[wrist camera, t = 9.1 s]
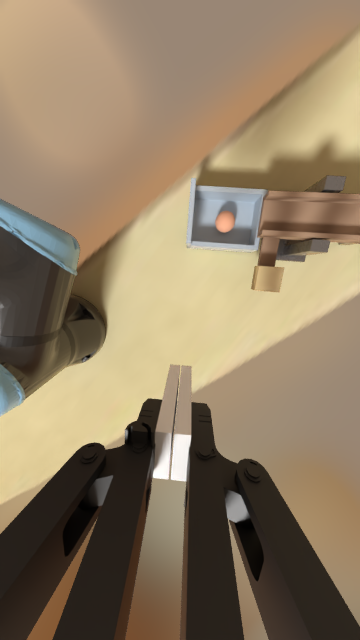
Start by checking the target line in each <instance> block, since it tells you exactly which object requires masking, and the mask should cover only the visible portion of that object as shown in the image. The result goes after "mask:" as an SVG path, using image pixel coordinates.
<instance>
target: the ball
mask: <svg viewBox="0 0 360 640" xmlns="http://www.w3.org/2000/svg"><path fill="white" fill-rule="evenodd" d="M215 225H216V228H217V229H218V230H219V231H220V232H224V233H225V232H228V231H230V230H231V229H232V228H233V227H234V225H235V217H234V215H233V213H232V212H230V211H222V212H221V213H219V214H218V216H217V217H216V220H215Z"/></svg>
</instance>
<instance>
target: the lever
mask: <svg viewBox="0 0 360 640" xmlns="http://www.w3.org/2000/svg"><path fill="white" fill-rule="evenodd" d="M257 238H262V242H261V248H260V254H259V260H258V266H255V269H254V275H253V281H252V287H251V289H253V290H258V291H270V292H280V287H281V282H282V277H283V272H284V268H282V267H275V261H276V256H277V251H278V245H279V240H280V239H290V240H307V241H308V240H312V239H317V240H330V242H341V243H358V244H360V194H345V193H318V192H291V191H268V193H267V194H266V195H265V196H264V198H263V202H262V208H261V214H260V221H259V227H258V233H257Z"/></svg>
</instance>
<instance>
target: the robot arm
mask: <svg viewBox="0 0 360 640" xmlns="http://www.w3.org/2000/svg"><path fill="white" fill-rule="evenodd" d="M79 254H80V247H79V244H78V242H77V240H76V239H75V238H74V237H73V236H72V235H71V234H69V233H67V232H65V231H63V230H61V229H59V228H57V227H56V226H54V225H51V224H49V223H48V222H46V221H44V220H42V219H39V218H38V217H36V216H33V215H32V214H30V213H28V212H26V211H24V210H22V209H20V208H18V207H16V206H14V205H12V204H10V203H8V202H6V201H4V200H2V199H0V416H2V415H3V414H5V413H6V412H8V411H10V410H11V409H13V408H14V407H16V406H18V405H20V404H21V403H22V402H23V401H24V400H25V399H26V398H27V397H28V396H30V395H31V394H32V393H33V392H35V391H36V390H37V389H39V388H40V387H41V386H42V385H44V384H45V383H46V382H47V381H49V380H50V379H51V378H53V377H54V376H55V375H56V374H58V373H59V372H60V371H62V370H63V369H64V368H65V367H69V366H72V365H76V364H80V363H83V362H85V361H87V360H89V359H90V358H92V357H93V356H94V355H95V354H96V353H97V352H98V351H99V350H100V349H101V347H102V345H103V343H104V340H105V325H104V322H103V319H102V317H101V315H100V313H99V312H98V310H97V309H96V308H95V307H94V306H93V305H92V304H91V303H89V302H88V301H86V300H85V299H83V298H81V297H78V296H74V295H70V294H71V290H72V287H73V283H74V279H75V275H76V276H77V271H76V270H77V264H78V259H79ZM179 373H180V365H171V364H170V368H169V373H168V377H167V382H166V386H165V391H164V395H163V399H162V400H159V399H149V398H148V399H147V400H146V401H145V402H144V403H143V406H142V408H141V411H140V414H139V417H138V419H137V421H135V422H132V423H131V424H129V425H128V426H127V428H126V429H125V444H124V445H122V446H120V447H117V448H113V449H108V450H105V448H104V446H103V445H101V444H100V443H89V444H86V445H84V446H82V447H81V448H80V449H79V450H77V451H76V452H75V454H74V455H73V456H72V457H71V458H70V459H69V460H68V461H67V462H66V463H65V464H64V465H63V467H62V468H61V469H60V470H59V471H58V472H57V473H56V474H55V475H54V476H53V477H52V479H51V480H50V481H49V482H48V483H47V484H46V485H45V486H44V487H43V488H42V489H41V491H40V492H39V493H38V494H37V495H36V496H35V497H34V498H33V499H32V500H31V501H30V503H29V504H28V505H27V506H26V507H25V508H24V509H23V510H22V511H21V512H20V513H19V515H18V516H17V517H16V518H15V519H14V520H13V521H12V522H11V523H10V524H9V525H8V527H7V528H6V529H5V530H4V531H3V532H2V533H1V534H0V640H26V639H27V638H28V636H29V634H30V633H31V631H32V629H33V627H34V626H35V624H36V622H37V621H38V619H39V617H40V615H41V614H42V612H43V610H44V608H45V607H46V605H47V603H48V602H49V600H50V598H51V597H52V595H53V593H54V591H55V590H56V588H57V586H58V585H59V583H60V581H61V579H62V577H63V576H64V574H65V573H66V571H67V569H68V567H69V566H70V564H71V562H72V561H73V559H74V557H75V555H76V554H77V552H78V550H79V549H80V547H81V545H82V543H83V542H84V540H85V538H86V536H87V535H88V533H89V531H90V530H91V528H92V526H93V524H94V522H95V521H96V519H97V521H96V524H95V527H94V529H93V532H92V535H91V537H90V540H89V543H88V546H87V548H86V551H85V554H84V556H83V559H82V562H81V564H80V567H79V570H78V572H77V575H76V578H75V581H74V583H73V586H72V589H71V591H70V594H69V597H68V600H67V602H66V605H65V607H64V610H63V613H62V616H61V619H60V621H59V624H58V626H57V629H56V632H55V634H54V637H53V640H125V636H126V632H127V626H128V620H129V614H130V609H131V603H132V597H133V591H134V586H135V580H136V574H137V568H138V563H139V557H140V551H141V546H142V540H143V534H144V529H145V523H146V517H147V511H148V505H149V500H150V494H151V482H152V477H153V478H161V479H168V478H169V477H168V476H169V469H170V459H171V450H172V441H173V432H174V424H175V414H176V406H177V415H176V424H175V434H174V446H173V459H172V472H171V480H178V481H186V493H185V502H184V507H185V515H184V542H183V569H182V596H181V621H180V640H244V635H243V627H242V621H241V614H240V605H239V599H238V591H237V584H236V576H235V569H234V561H233V554H232V547H231V540H230V533H229V525H228V519H229V522H230V525H231V527H232V531H233V533H234V536H235V540H236V543H237V546H238V549H239V551H240V554H241V558H242V561H243V564H244V567H245V570H246V573H247V576H248V578H249V581H250V585H251V588H252V591H253V594H254V597H255V600H256V603H257V605H258V609H259V612H260V614H261V617H262V621H263V623H264V626H265V630H266V633H267V635H268V639H269V640H360V626H359V625H358V623H357V621H356V620H355V618H354V616H353V615H352V613H351V611H350V610H349V608H348V606H347V604H346V603H345V601H344V599H343V598H342V596H341V595H340V593H339V591H338V590H337V588H336V586H335V584H334V583H333V581H332V579H331V578H330V576H329V574H328V573H327V571H326V569H325V568H324V566H323V564H322V563H321V561H320V559H319V558H318V556H317V554H316V553H315V551H314V550H313V548H312V546H311V544H310V543H309V541H308V539H307V538H306V536H305V534H304V533H303V531H302V529H301V528H300V526H299V524H298V522H297V521H296V519H295V517H294V516H293V514H292V512H291V511H290V509H289V507H288V506H287V504H286V502H285V501H284V499H283V497H282V496H281V494H280V492H279V491H278V489H277V487H276V486H275V484H274V482H273V481H272V479H271V477H270V476H269V474H268V472H267V471H266V470H265V468H264V467H263V466H262V465H261V464H259V463H258V462H257V461H254V460H252V459H243V460H240V461H239V463H238V464H237V463H235V462H232V461H230V460H228V459H226V458H224V457H223V456H222V455H221V454H220V453H219V452H218V451H217V449H216V446H215V443H214V435H213V427H212V419H211V411H210V409H209V407H208V406H207V404H204V403H194V402H191V366H182V367H181V377H180V386H179V396H178V385H179ZM177 397H178V405H177Z"/></svg>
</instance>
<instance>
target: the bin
mask: <svg viewBox="0 0 360 640" xmlns="http://www.w3.org/2000/svg"><path fill="white" fill-rule="evenodd" d="M267 192H268V190H265V189H249V188H232V187H215V186H198V185H196V178H191V189H190V202H189V215H188V228H187V241H186V244H187V248H194V249H208V250H222V251H236V252H254V251H257V250H258V247H259V241H260V238H257V233H258V227H259V221H260V214H261V208H262V202H263V198H264V196H265V195H266V194H267ZM222 211H230V212H232V213H233V215H234V217H235V225H234V227H233V228H232V229H231V230H230V231H228V232H225V233H224V232H220V231H219V230H218V229H217V228H216V225H215V220H216V217H217V216H218V214H219V213H221V212H222Z"/></svg>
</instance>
